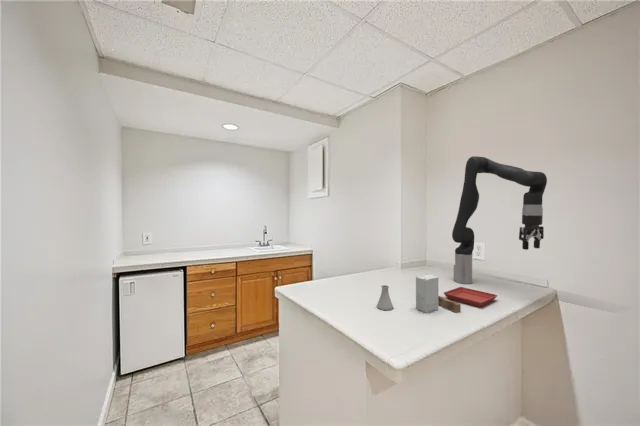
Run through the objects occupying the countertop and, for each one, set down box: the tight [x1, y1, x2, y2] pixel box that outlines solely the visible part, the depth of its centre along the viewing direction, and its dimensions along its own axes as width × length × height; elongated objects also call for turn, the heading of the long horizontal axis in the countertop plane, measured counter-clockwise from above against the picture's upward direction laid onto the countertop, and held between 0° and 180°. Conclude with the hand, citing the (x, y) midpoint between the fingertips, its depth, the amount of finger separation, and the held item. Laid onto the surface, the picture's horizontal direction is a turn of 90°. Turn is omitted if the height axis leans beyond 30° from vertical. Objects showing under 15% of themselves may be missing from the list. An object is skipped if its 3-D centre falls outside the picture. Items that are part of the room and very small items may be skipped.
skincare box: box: [415, 274, 439, 314], centre depth 120 cm, size 8×6×15 cm
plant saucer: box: [443, 286, 498, 308], centre depth 132 cm, size 18×18×3 cm
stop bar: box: [438, 295, 462, 314], centre depth 125 cm, size 20×2×4 cm, turn 22°
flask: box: [376, 284, 394, 311], centre depth 122 cm, size 7×7×10 cm
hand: (531, 248), depth 126 cm, fingers open, 8 cm apart
